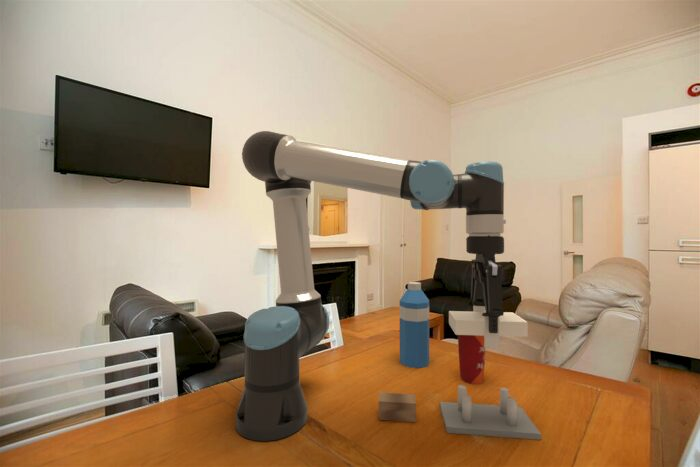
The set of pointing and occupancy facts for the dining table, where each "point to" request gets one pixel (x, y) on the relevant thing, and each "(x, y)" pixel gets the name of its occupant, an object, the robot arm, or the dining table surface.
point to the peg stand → (488, 417)
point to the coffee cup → (471, 358)
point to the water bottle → (414, 327)
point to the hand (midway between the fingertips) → (485, 340)
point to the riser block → (397, 407)
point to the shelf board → (475, 324)
